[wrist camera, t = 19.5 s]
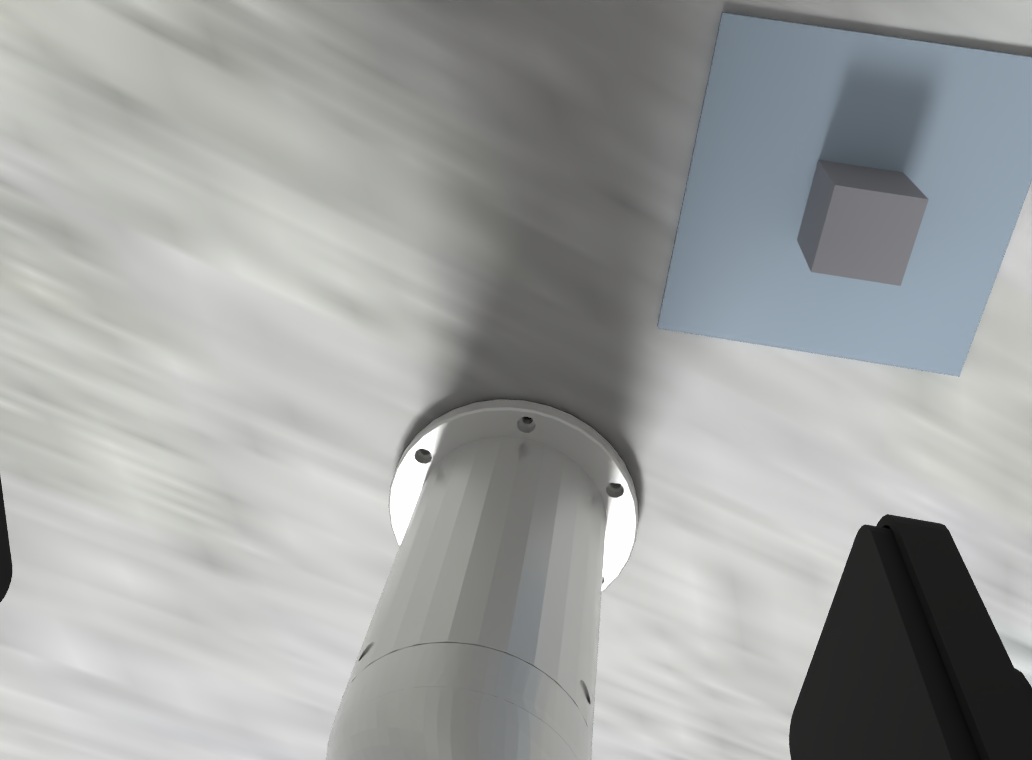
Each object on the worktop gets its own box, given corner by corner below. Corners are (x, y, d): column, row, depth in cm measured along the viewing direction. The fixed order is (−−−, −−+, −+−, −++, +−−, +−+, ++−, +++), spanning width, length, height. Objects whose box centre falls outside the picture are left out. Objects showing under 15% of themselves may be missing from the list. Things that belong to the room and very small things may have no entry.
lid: (952, 367, 45) (987, 419, 40) (657, 319, 45) (658, 365, 41) (1065, 60, 38) (1120, 81, 34) (721, 10, 39) (731, 25, 35)
